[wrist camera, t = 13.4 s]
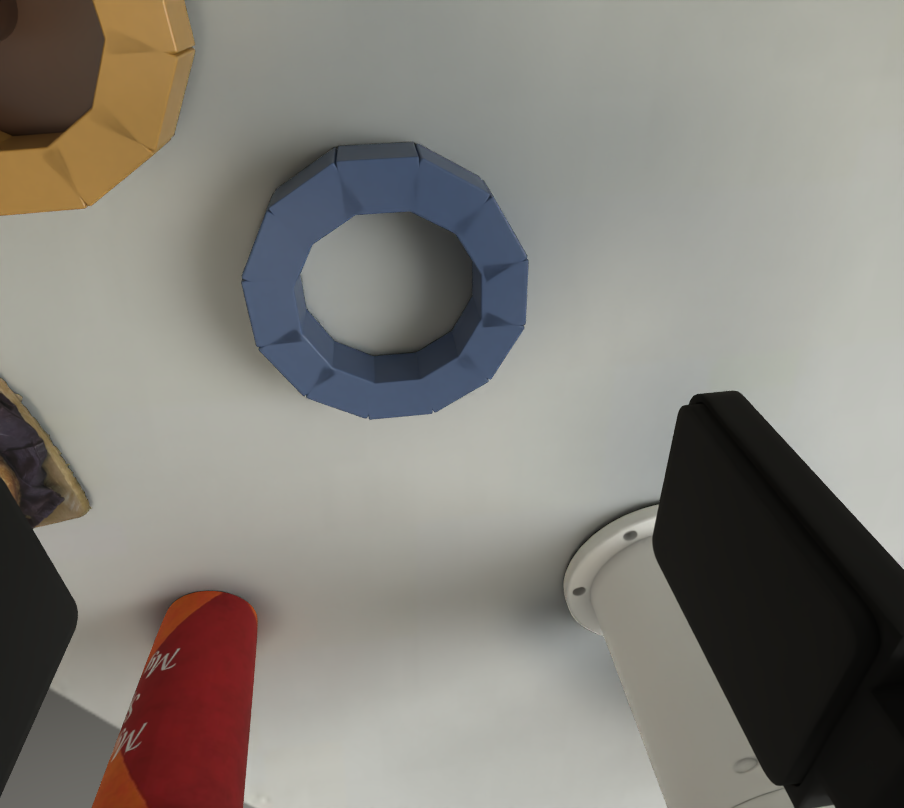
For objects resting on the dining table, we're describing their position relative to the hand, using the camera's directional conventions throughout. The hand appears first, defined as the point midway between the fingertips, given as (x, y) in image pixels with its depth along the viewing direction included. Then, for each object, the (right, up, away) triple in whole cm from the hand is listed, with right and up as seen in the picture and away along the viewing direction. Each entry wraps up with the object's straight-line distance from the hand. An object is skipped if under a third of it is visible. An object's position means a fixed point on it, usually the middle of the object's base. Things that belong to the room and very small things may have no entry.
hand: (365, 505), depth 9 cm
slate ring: (-2, +7, +19) cm, 20 cm away
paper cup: (-14, -12, +30) cm, 36 cm away
